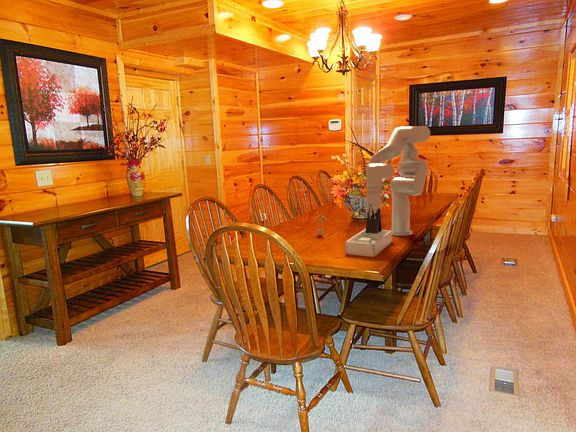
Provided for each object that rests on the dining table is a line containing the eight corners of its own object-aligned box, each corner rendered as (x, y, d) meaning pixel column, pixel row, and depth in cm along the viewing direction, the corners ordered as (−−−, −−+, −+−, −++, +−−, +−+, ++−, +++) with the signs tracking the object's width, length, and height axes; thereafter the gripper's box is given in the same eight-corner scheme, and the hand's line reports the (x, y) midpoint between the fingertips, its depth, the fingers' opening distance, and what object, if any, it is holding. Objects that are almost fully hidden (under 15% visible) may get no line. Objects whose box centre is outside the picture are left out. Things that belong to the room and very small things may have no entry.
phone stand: (370, 229, 223) (371, 206, 221) (382, 230, 220) (382, 207, 218) (365, 233, 215) (365, 209, 213) (376, 234, 212) (377, 210, 210)
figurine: (312, 236, 240) (311, 215, 238) (314, 234, 245) (313, 213, 243) (326, 236, 238) (326, 215, 236) (328, 234, 243) (328, 213, 241)
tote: (365, 239, 229) (365, 228, 228) (391, 241, 222) (391, 230, 221) (345, 253, 203) (345, 241, 202) (374, 257, 197) (374, 244, 195)
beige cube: (361, 247, 210) (361, 237, 209) (371, 248, 208) (371, 238, 207) (358, 249, 206) (358, 239, 205) (368, 250, 203) (368, 240, 202)
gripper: (371, 187, 222) (371, 222, 225) (361, 191, 209) (361, 228, 212) (386, 188, 219) (385, 223, 222) (377, 192, 205) (376, 229, 208)
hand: (373, 225), depth 217 cm, fingers closed on phone stand, 1 cm apart
